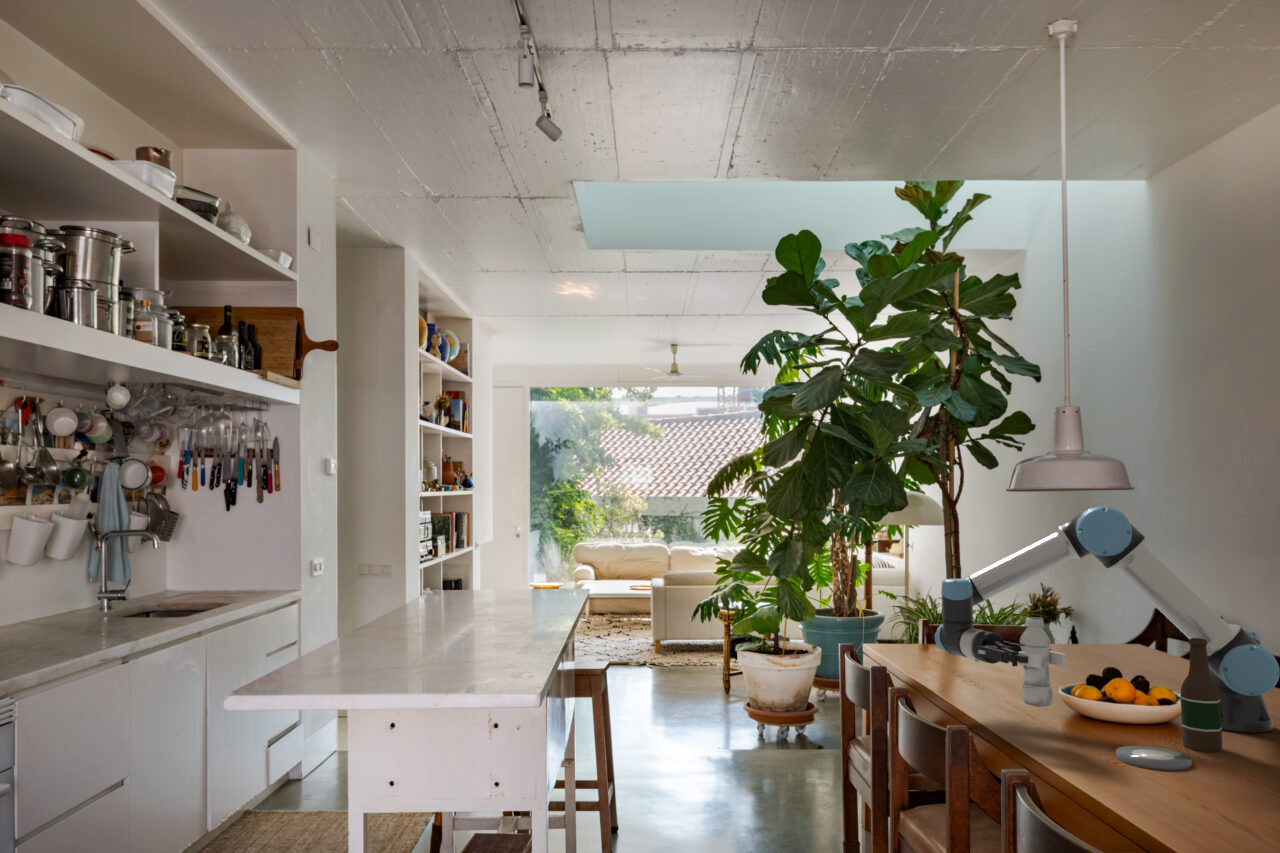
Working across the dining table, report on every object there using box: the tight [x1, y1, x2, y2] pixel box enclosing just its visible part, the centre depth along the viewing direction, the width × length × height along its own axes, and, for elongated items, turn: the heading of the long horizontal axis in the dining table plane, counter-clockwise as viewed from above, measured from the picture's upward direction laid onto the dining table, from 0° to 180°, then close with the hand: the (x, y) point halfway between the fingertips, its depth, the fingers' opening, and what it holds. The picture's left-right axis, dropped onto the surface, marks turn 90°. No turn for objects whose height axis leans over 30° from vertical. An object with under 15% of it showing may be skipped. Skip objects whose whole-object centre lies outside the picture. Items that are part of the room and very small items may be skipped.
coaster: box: [1115, 745, 1193, 771], centre depth 196 cm, size 14×14×1 cm
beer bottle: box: [1180, 638, 1223, 753], centre depth 207 cm, size 8×8×24 cm
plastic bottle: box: [1019, 616, 1054, 708], centre depth 213 cm, size 6×7×20 cm
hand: (1052, 661), depth 208 cm, fingers closed on plastic bottle, 6 cm apart
